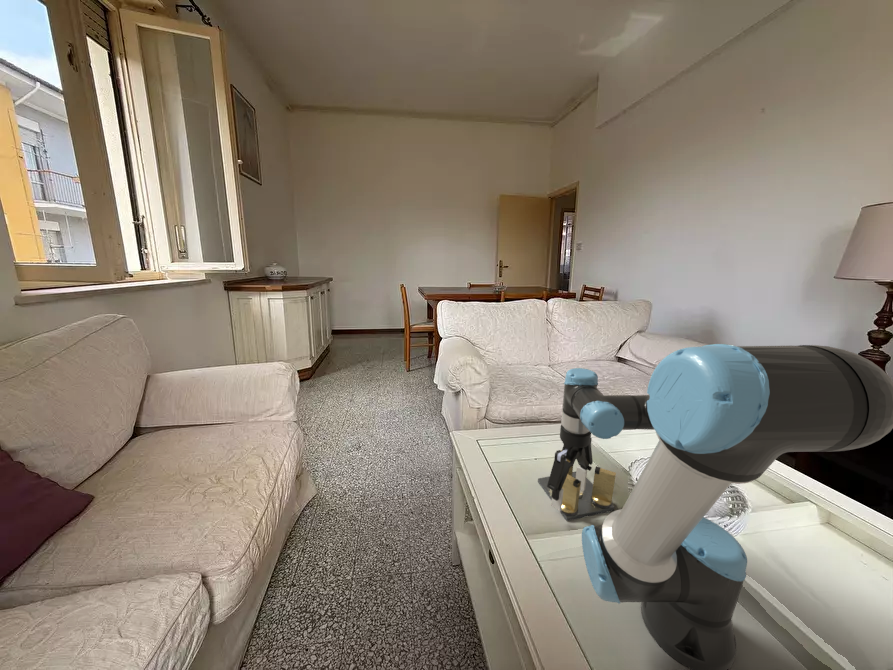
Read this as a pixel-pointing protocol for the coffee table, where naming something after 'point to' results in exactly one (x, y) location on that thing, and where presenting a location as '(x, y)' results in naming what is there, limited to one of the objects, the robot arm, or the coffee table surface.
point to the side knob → (603, 486)
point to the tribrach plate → (585, 501)
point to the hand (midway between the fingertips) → (568, 497)
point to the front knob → (570, 494)
